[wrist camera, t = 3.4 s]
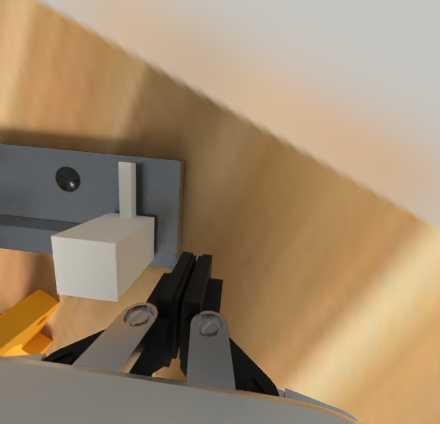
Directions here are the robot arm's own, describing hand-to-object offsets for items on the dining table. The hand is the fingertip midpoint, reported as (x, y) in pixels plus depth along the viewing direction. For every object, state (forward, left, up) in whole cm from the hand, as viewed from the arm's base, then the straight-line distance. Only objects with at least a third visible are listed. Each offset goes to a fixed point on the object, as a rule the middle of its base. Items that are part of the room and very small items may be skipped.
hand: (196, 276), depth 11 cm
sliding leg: (+1, +7, -7) cm, 10 cm away
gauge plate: (+1, +16, -9) cm, 18 cm away
